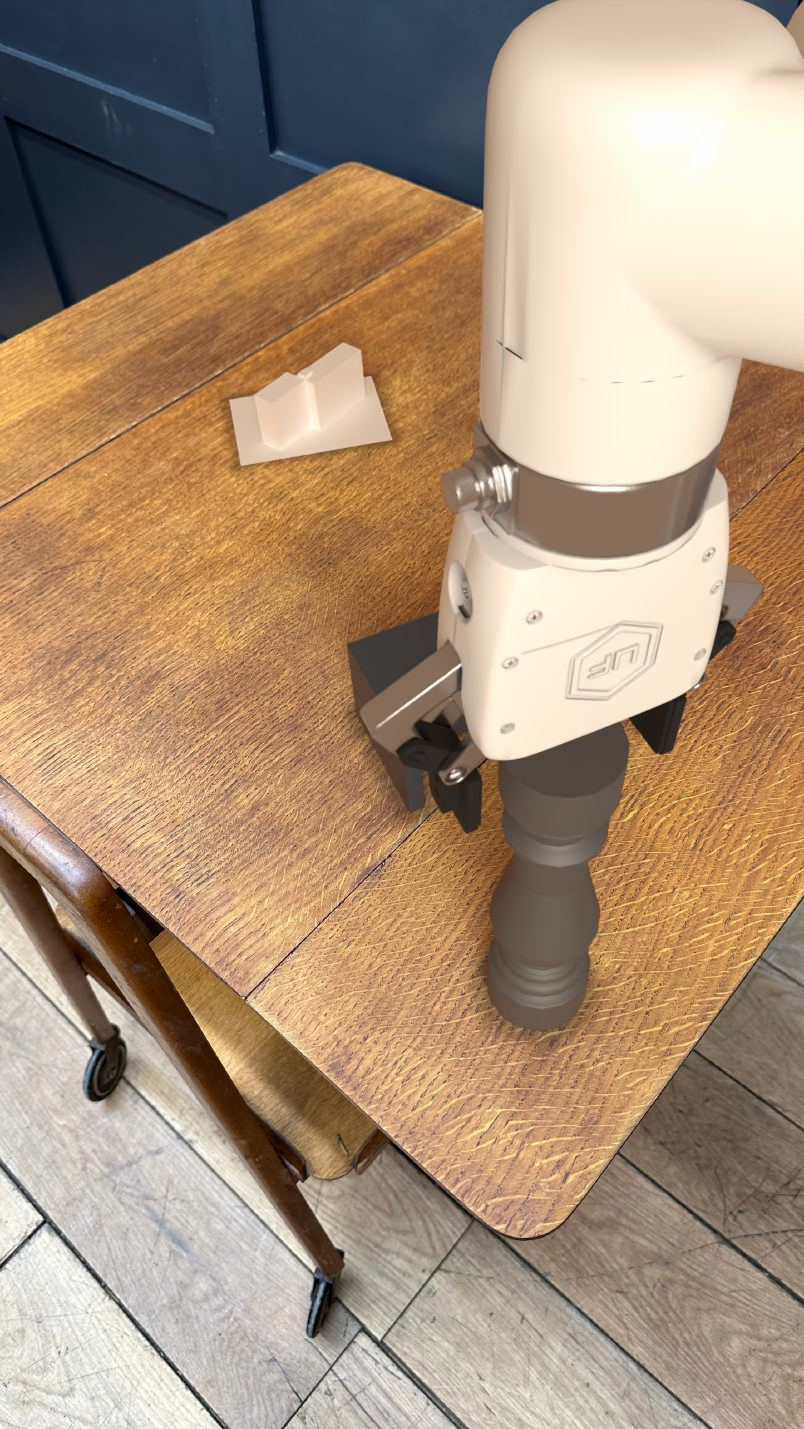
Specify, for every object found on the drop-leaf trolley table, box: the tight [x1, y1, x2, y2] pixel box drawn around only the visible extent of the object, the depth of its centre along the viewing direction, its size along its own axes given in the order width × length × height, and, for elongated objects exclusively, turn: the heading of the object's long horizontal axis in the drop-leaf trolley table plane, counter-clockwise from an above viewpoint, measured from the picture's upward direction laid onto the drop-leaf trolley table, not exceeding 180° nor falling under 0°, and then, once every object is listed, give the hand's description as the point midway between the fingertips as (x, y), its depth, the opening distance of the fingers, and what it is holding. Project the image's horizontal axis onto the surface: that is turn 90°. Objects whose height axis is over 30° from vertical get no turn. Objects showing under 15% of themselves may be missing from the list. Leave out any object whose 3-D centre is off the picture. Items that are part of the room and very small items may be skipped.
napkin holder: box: [229, 342, 393, 467], centre depth 100 cm, size 15×11×6 cm
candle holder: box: [486, 721, 631, 1032], centre depth 55 cm, size 6×6×25 cm
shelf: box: [346, 610, 469, 814], centre depth 75 cm, size 20×10×8 cm, turn 114°
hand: (554, 768), depth 46 cm, fingers open, 9 cm apart
